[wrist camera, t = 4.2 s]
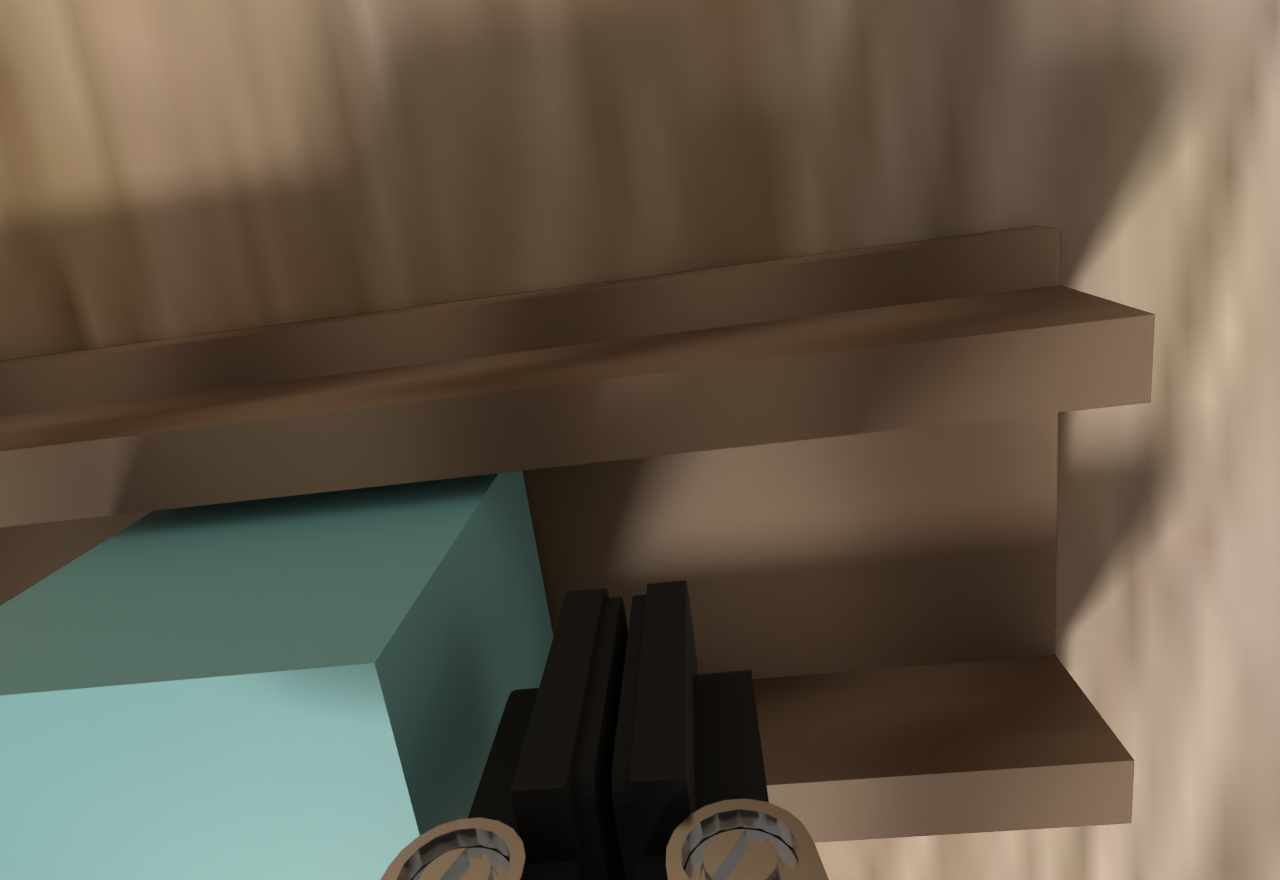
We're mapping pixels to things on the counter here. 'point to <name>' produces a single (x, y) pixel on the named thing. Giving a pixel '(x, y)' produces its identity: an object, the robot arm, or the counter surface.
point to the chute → (693, 487)
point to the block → (267, 684)
